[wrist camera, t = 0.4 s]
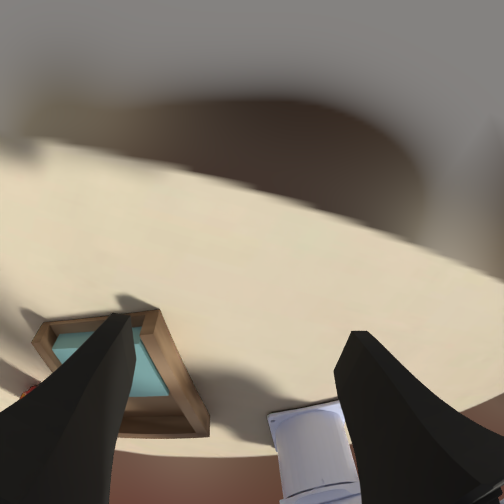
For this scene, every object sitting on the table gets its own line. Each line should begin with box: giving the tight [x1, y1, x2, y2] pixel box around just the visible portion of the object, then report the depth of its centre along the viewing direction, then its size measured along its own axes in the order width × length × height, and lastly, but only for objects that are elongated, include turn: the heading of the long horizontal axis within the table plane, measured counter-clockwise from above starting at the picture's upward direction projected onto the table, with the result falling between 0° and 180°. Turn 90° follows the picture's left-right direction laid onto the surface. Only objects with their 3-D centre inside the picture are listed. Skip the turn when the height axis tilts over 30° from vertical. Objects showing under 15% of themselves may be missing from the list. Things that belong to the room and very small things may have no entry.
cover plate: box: [52, 327, 169, 397], centre depth 21 cm, size 6×8×2 cm
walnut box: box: [31, 309, 210, 439], centre depth 23 cm, size 14×11×2 cm
